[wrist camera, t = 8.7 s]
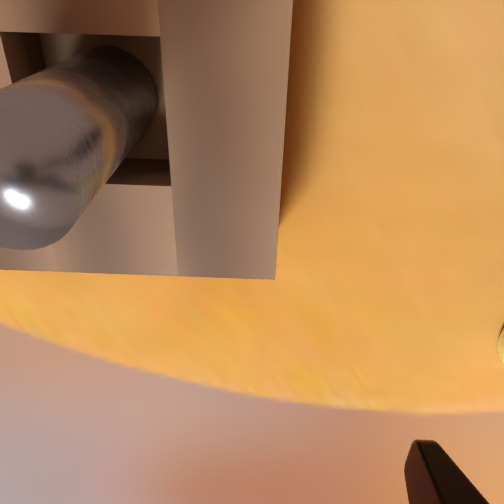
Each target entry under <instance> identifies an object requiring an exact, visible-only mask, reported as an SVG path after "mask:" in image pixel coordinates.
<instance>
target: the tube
mask: <svg viewBox="0 0 504 504" xmlns="http://www.w3.org/2000/svg"><path fill="white" fill-rule="evenodd" d="M498 352H499V355H500V357H501V359H502V361H503V363H504V328H503V330H502V332H501V334H500V337H499V340H498Z"/></svg>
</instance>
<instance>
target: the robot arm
mask: <svg viewBox="0 0 504 504" xmlns="http://www.w3.org/2000/svg"><path fill="white" fill-rule="evenodd" d="M404 473H405V481H406V487H407V493H408V500H409V504H489V503H488V502H487V500H486V499H485V498H484V497H483V496H482V495H481V494H480V492H479V491H478V490H477V489H476V487H475V486H474V485H473V484H472V483H471V482H470V480H469V479H468V478H467V477H466V476H465V475H464V473H463V472H462V471H461V470H460V469H459V468H458V466H457V465H456V464H455V463H454V462H453V460H452V459H451V458H450V457H449V456H448V454H447V453H446V452H445V451H444V450H443V449H442V447H441V446H440V445H439V444H438V443H437V442H435V441H433V440H414V441H413V442H412V444H411V448H410V450H409V453H408V456H407V459H406V462H405V467H404Z"/></svg>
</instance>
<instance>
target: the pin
mask: <svg viewBox="0 0 504 504" xmlns="http://www.w3.org/2000/svg"><path fill="white" fill-rule="evenodd" d="M157 106H158V94H157V88H156V85H155V82H154V79H153V77H152V75H151V74H150V72H149V70H148V69H147V68H146V66H145V65H144V64H143V63H142V62H141V61H140V60H139V59H138V58H137V57H135V56H134V55H132V54H131V53H129V52H127V51H125V50H123V49H120V48H117V47H112V46H99V47H94V48H91V49H89V50H87V51H84V52H82V53H80V54H78V55H75V56H73V57H71V58H69V59H66V60H64V61H62V62H60V63H57V64H55V65H53V66H51V67H48V68H46V69H44V70H42V71H39V72H37V73H35V74H33V75H30V76H28V77H26V78H24V79H21V80H19V81H17V82H15V83H12V84H10V85H8V86H6V87H3V88H1V89H0V247H3V248H8V249H15V250H32V249H39V248H43V247H46V246H49V245H51V244H54V243H55V242H57V241H59V240H60V239H61V238H63V237H64V236H65V235H66V234H67V233H68V232H69V231H70V229H71V228H72V227H73V226H74V224H75V223H76V222H77V220H78V219H79V218H80V216H81V215H82V214H83V212H84V211H85V210H86V208H87V207H88V206H89V204H90V203H91V202H92V200H93V199H94V198H95V196H96V195H97V194H98V193H99V191H100V190H101V189H102V187H103V186H104V185H105V183H106V182H107V181H108V179H109V178H110V177H111V175H112V174H113V173H114V171H115V170H116V169H117V167H118V166H119V165H120V164H121V162H122V161H123V160H124V158H125V157H126V156H127V154H128V153H129V152H130V150H131V149H132V148H133V146H134V145H135V144H136V142H137V141H138V140H139V138H140V137H141V136H142V134H143V133H144V132H145V131H146V129H147V128H148V127H149V125H150V124H151V122H152V121H153V119H154V117H155V114H156V111H157Z"/></svg>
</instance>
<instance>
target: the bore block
mask: <svg viewBox="0 0 504 504" xmlns="http://www.w3.org/2000/svg"><path fill="white" fill-rule="evenodd" d="M292 8H293V0H0V89H1V88H3V87H6V86H8V85H10V84H12V83H15V82H17V81H19V80H21V79H24V78H26V77H28V76H30V75H33V74H35V73H37V72H39V71H42V70H44V69H46V68H48V67H51V66H53V65H55V64H57V63H60V62H62V61H64V60H66V59H69V58H71V57H73V56H75V55H78V54H80V53H82V52H84V51H87V50H89V49H91V48H94V47H99V46H112V47H117V48H120V49H123V50H125V51H127V52H129V53H131V54H132V55H134V56H135V57H137V58H138V59H139V60H140V61H141V62H142V63H143V64H144V65H145V66H146V68H147V69H148V70H149V72H150V74H151V75H152V77H153V79H154V82H155V85H156V88H157V94H158V106H157V111H156V114H155V117H154V119H153V121H152V122H151V124H150V125H149V127H148V128H147V129H146V131H145V132H144V133H143V134H142V136H141V137H140V138H139V140H138V141H137V142H136V144H135V145H134V146H133V148H132V149H131V150H130V152H129V153H128V154H127V156H126V157H125V158H124V160H123V161H122V162H121V164H120V165H119V166H118V167H117V169H116V170H115V171H114V173H113V174H112V175H111V177H110V178H109V179H108V181H107V182H106V183H105V185H104V186H103V187H102V189H101V190H100V191H99V193H98V194H97V195H96V196H95V198H94V199H93V200H92V202H91V203H90V204H89V206H88V207H87V208H86V210H85V211H84V212H83V214H82V215H81V216H80V218H79V219H78V220H77V222H76V223H75V224H74V226H73V227H72V228H71V229H70V231H69V232H68V233H67V234H66V235H65V236H64V237H63V238H61V239H60V240H59V241H57V242H55V243H54V244H51V245H49V246H46V247H43V248H39V249H32V250H15V249H8V248H3V247H0V270H26V271H53V272H80V273H108V274H135V275H162V276H189V277H216V278H243V279H271V280H275V273H276V258H277V242H278V226H279V211H280V195H281V180H282V164H283V148H284V133H285V117H286V102H287V86H288V71H289V55H290V39H291V24H292Z"/></svg>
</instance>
